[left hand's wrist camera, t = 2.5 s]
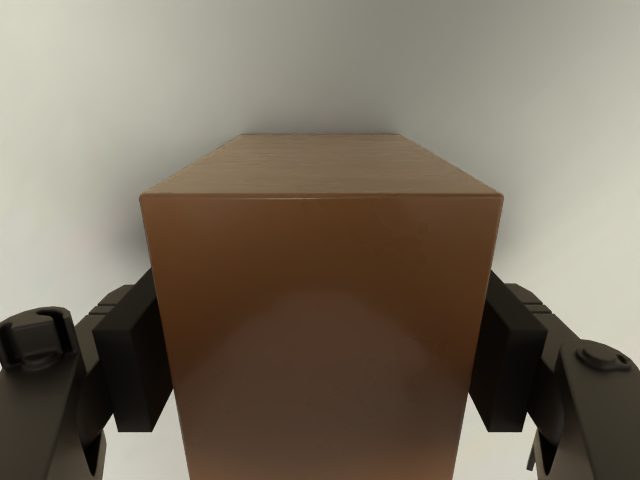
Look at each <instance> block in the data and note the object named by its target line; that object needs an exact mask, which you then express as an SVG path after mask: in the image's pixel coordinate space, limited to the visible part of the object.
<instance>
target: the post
mask: <svg viewBox="0 0 640 480" xmlns="http://www.w3.org/2000/svg"><path fill="white" fill-rule="evenodd" d="M503 200H504V198H503V194H501V193H500V192H498V191H496V190H494V189H493V188H491V187H489V186H488V185H486V184H484V183H482V182H481V181H479V180H477V179H476V178H474V177H472V176H470V175H469V174H467V173H465V172H464V171H462V170H460V169H458V168H457V167H455V166H453V165H452V164H450V163H448V162H446V161H445V160H443V159H441V158H440V157H438V156H436V155H434V154H433V153H431V152H429V151H428V150H426V149H424V148H422V147H421V146H419V145H417V144H416V143H414V142H412V141H410V140H409V139H407V138H405V137H404V136H402V135H400V134H242V135H240V136H238V137H236V138H234V139H233V140H231V141H229V142H228V143H226V144H224V145H223V146H221V147H219V148H218V149H216V150H214V151H213V152H211V153H209V154H207V155H206V156H204V157H202V158H201V159H199V160H197V161H196V162H194V163H192V164H191V165H189V166H187V167H186V168H184V169H182V170H180V171H179V172H177V173H175V174H174V175H172V176H170V177H169V178H167V179H165V180H164V181H162V182H160V183H159V184H157V185H155V186H153V187H152V188H150V189H148V190H147V191H145V192H143V193H142V194H140V197H139V201H140V206H141V212H142V217H143V223H144V228H145V234H146V239H147V245H148V250H149V256H150V261H151V267H152V273H153V278H154V284H155V289H156V295H157V300H158V306H159V311H160V317H161V322H162V328H163V333H164V339H165V344H166V350H167V355H168V361H169V367H170V372H171V378H172V383H173V389H174V394H175V400H176V405H177V411H178V416H179V422H180V427H181V433H182V438H183V444H184V450H185V455H186V461H187V466H188V472H189V477H190V480H452V478H453V472H454V467H455V461H456V456H457V451H458V445H459V440H460V434H461V429H462V423H463V418H464V412H465V407H466V402H467V396H468V391H469V385H470V380H471V374H472V369H473V363H474V358H475V353H476V347H477V342H478V336H479V331H480V325H481V320H482V314H483V309H484V304H485V298H486V293H487V287H488V282H489V276H490V271H491V265H492V260H493V255H494V249H495V244H496V238H497V233H498V227H499V222H500V216H501V211H502V206H503Z"/></svg>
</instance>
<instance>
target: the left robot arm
mask: <svg viewBox="0 0 640 480" xmlns="http://www.w3.org/2000/svg"><path fill="white" fill-rule="evenodd" d="M0 363H1V366H2V370H1V372H0V480H102V477H103V469H104V461H105V453H106V439H105V434H104V431H103V428H104V427H105V425H106V423H107V422H108V420H109V419H110V417H111V416H112V414H114V418H115V421H116V425H117V429H118V432H152V431H153V429H154V427H155V425H156V423H157V421H158V419H159V416H160V414H161V412H162V410H163V408H164V406H165V404H166V402H167V400H168V398H169V396H170V394H171V392H172V390H173V383H172V378H171V372H170V367H169V361H168V355H167V350H166V344H165V339H164V333H163V328H162V322H161V317H160V311H159V306H158V300H157V295H156V289H155V284H154V278H153V273H152V267H151V268H150V269H149V270H148V271H147V272H146V273H145V274H144V275H143V276H142V278H141V279H140V280H139V281H138V282H137V283H136V284H135V285H123V286H122V287H120V288H118V289H116V290H114V291H112V292H111V293H109V294H108V295H107V296H106V297H105V298H103V299H102V300H101V301H100V302H99V303H98V306H95V307H94V308H93V309H92V310H91V311H90V312H89V315H86V316H85V317H84V318H83V319H82V320H81V321H80V322H79V323H78V324H77V325H76V326H75V327H74V324H73V321H72V317H71V314H70V311H68V310H67V309H65V308H62V307H54V306H53V307H42V308H36V309H32V310H28V311H24V312H22V313H19V314H16V315H14V316H11V317H9V318H7V319H6V320H4V321H2V322H0ZM468 392H469V394H470V396H471V398H472V400H473V402H474V404H475V406H476V408H477V410H478V412H479V414H480V416H481V419H482V421H483V423H484V425H485V427H486V429H487V431H488V432H522V429H523V425H524V421H525V418H526V414H527V412H528V413H529V415H530V417H531V418H532V420H533V421H534V423H535V424H536V426H537V431H536V434H535V438H534V441H533V445H532V449H531V452H530V456H529V459H528V464H527V470H530V471H532V470H533V467H534V463H535V462H536V468H537V476H538V480H640V371H639V369H638V367H637V366H636V365H635V364H634V362H633V361H632V360H631V359H630V358H628V357H627V356H626V355H624V354H623V353H621V352H620V351H618V350H616V349H614V348H611V347H609V346H607V345H605V344H601V343H598V342H594V341H591V340H583V339H580V338H579V337H578V336H577V335H576V334H575V333H573V332H572V331H571V330H570V329H569V328H568V327H567V326H566V325H565V324H564V323H563V322H562V321H561V320H560V319H559V318H558V317H557V316H556V315H555V314H552V311H551V310H550V309H549V308H548V307H547V306H545V305H543V303H542V302H541V301H540V300H539V299H538V298H537V297H536V296H535V295H534V294H533V293H532V292H530V291H528V290H527V289H525V288H523V287H521V286H519V285H517V284H516V283H503V282H502V281H501V280H500V279H499V278H498V276H497V275H496V274H495V273H494V272H493V271H492V270H491V271H490V276H489V282H488V287H487V293H486V298H485V304H484V309H483V314H482V320H481V325H480V331H479V336H478V342H477V347H476V353H475V358H474V363H473V369H472V374H471V380H470V385H469V391H468Z"/></svg>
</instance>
